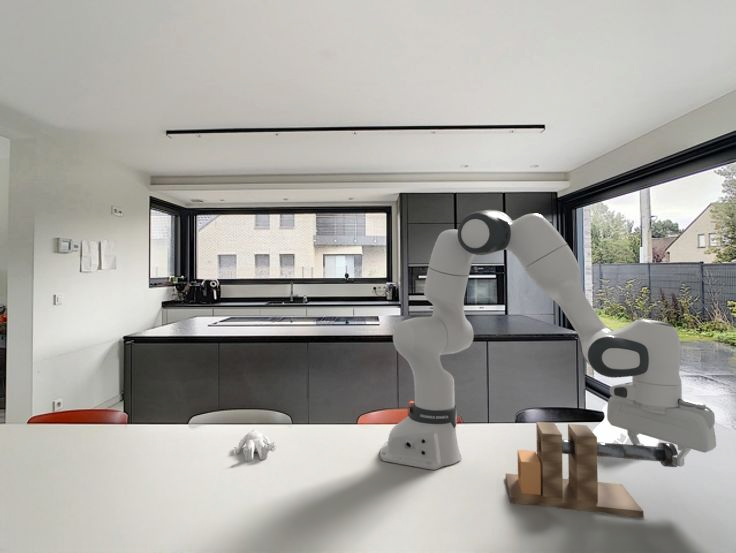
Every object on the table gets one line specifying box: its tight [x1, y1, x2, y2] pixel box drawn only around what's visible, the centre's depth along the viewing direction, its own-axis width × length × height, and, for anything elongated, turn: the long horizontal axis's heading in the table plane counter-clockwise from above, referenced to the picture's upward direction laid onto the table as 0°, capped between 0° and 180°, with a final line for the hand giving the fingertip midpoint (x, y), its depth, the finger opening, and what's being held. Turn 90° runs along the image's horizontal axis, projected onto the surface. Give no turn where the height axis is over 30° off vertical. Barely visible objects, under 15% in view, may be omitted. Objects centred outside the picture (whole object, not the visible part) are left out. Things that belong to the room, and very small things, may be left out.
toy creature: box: [232, 429, 277, 463], centre depth 120 cm, size 12×6×12 cm
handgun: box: [591, 403, 660, 447], centre depth 120 cm, size 18×3×14 cm
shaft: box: [562, 439, 679, 468], centre depth 93 cm, size 26×5×5 cm, turn 77°
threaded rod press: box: [505, 421, 645, 518], centre depth 95 cm, size 26×12×15 cm, turn 77°
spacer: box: [517, 449, 541, 495], centre depth 97 cm, size 4×7×7 cm, turn 167°
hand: (657, 458), depth 91 cm, fingers closed on shaft, 6 cm apart
